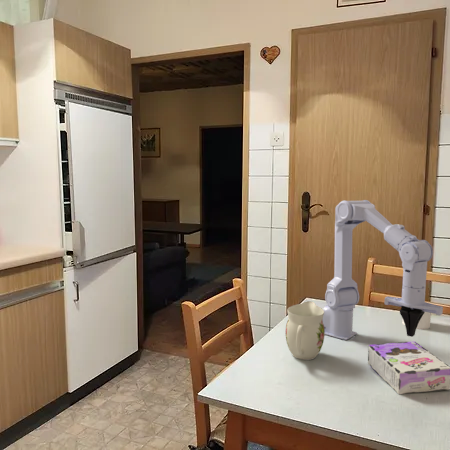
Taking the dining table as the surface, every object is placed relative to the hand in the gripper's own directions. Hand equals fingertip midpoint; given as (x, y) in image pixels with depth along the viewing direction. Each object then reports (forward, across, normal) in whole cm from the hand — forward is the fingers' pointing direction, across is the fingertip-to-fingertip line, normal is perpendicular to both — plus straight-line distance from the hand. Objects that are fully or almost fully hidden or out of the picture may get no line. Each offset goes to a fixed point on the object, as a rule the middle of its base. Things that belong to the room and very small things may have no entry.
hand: (410, 335), depth 123 cm
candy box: (+5, +4, +2) cm, 7 cm away
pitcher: (+9, +25, +13) cm, 30 cm away
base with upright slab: (+9, +10, -38) cm, 40 cm away
